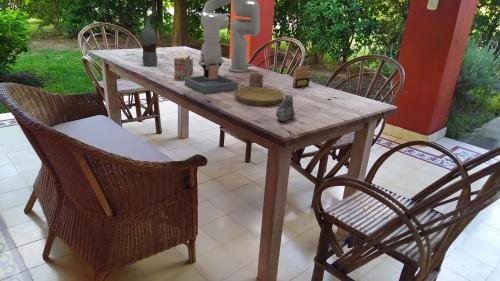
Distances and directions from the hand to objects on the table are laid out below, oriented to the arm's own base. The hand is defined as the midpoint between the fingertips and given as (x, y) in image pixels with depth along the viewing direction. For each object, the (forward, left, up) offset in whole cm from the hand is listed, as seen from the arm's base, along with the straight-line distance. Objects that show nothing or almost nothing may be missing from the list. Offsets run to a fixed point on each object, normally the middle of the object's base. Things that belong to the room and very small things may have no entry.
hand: (211, 76), depth 191 cm
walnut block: (-22, +10, -6) cm, 25 cm away
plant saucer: (-9, +29, -6) cm, 31 cm away
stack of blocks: (0, -28, -6) cm, 29 cm away
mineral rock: (-1, +55, -6) cm, 55 cm away
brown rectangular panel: (-45, +21, -6) cm, 50 cm away
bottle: (+6, -63, -6) cm, 64 cm away
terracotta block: (0, 0, -1) cm, 1 cm away
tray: (0, 0, -6) cm, 6 cm away
